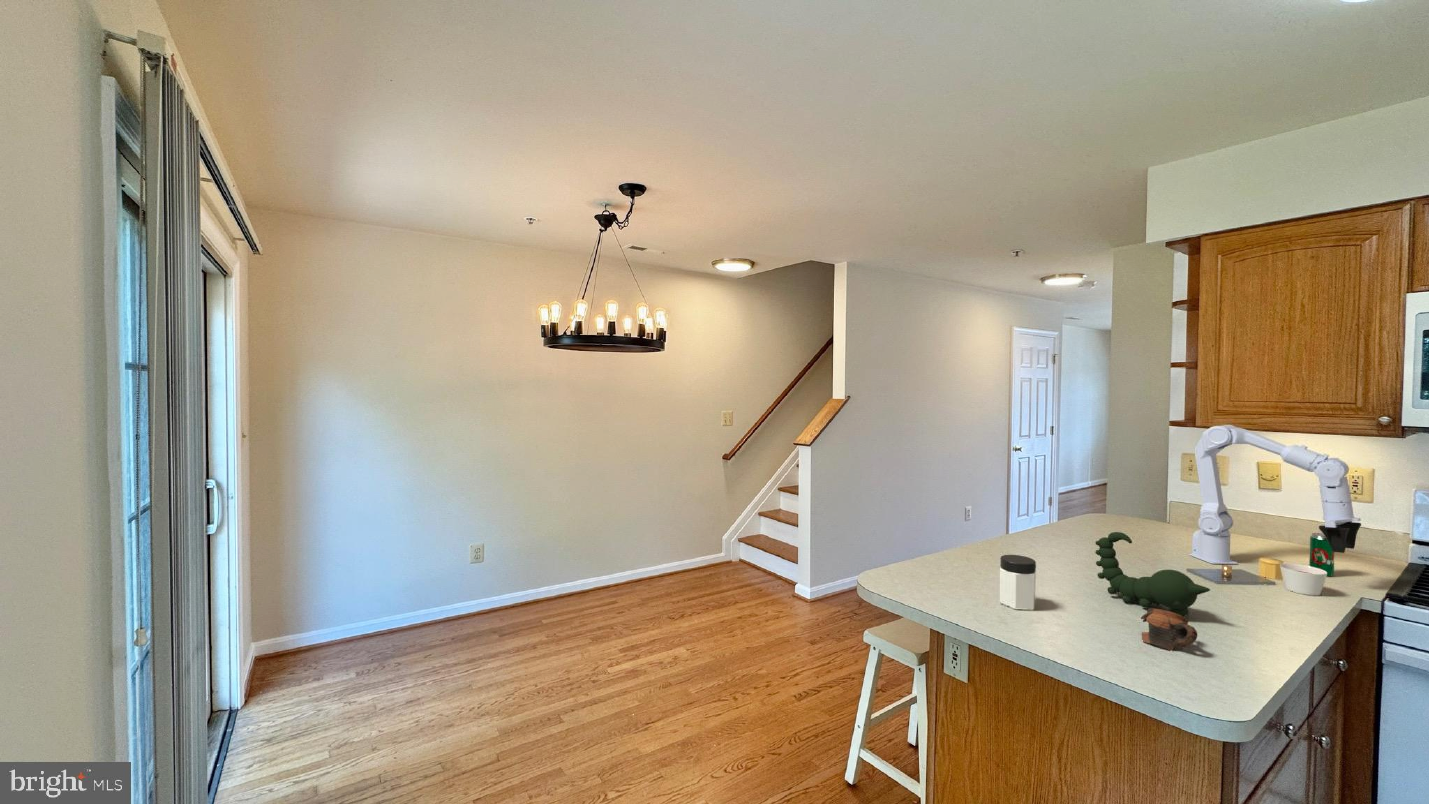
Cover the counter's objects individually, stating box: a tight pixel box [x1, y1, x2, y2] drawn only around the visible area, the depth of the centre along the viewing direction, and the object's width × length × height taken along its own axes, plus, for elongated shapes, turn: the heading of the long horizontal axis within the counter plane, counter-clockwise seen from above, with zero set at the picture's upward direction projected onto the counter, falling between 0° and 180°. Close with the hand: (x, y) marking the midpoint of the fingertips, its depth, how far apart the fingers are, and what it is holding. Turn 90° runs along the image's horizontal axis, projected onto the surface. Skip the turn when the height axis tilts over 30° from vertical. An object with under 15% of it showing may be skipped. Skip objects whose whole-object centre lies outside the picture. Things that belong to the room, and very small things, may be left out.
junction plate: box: [1185, 564, 1276, 586], centre depth 165 cm, size 11×16×4 cm
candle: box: [1280, 563, 1327, 597], centre depth 154 cm, size 9×9×6 cm
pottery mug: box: [1140, 607, 1198, 651], centre depth 123 cm, size 12×10×8 cm
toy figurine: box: [1094, 531, 1211, 618], centre depth 143 cm, size 9×19×25 cm
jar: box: [999, 554, 1037, 610], centre depth 146 cm, size 9×8×12 cm
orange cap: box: [1258, 557, 1284, 581], centre depth 166 cm, size 5×5×5 cm
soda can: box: [1308, 532, 1336, 578], centre depth 168 cm, size 5×5×12 cm
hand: (1343, 550), depth 157 cm, fingers open, 7 cm apart
